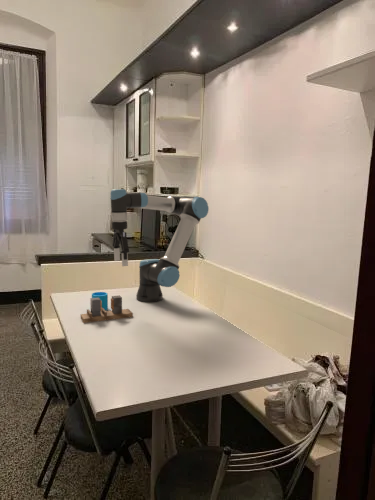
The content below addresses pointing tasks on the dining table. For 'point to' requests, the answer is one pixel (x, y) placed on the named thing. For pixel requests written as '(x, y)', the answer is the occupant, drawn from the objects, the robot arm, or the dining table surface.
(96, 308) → the dark grey upright block
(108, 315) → the rail
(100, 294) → the mug
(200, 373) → the dining table surface
